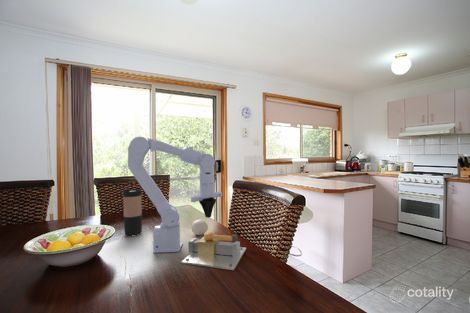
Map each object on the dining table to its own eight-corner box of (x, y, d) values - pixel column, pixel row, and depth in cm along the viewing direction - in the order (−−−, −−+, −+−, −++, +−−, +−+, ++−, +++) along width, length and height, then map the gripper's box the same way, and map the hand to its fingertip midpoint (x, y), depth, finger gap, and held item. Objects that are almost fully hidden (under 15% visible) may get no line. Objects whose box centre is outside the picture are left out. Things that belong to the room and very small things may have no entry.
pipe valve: (187, 253, 81) (187, 240, 81) (194, 247, 87) (194, 235, 87) (236, 258, 76) (236, 245, 76) (240, 251, 82) (240, 239, 82)
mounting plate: (181, 263, 75) (181, 260, 75) (201, 244, 90) (201, 242, 90) (233, 270, 70) (233, 267, 70) (246, 249, 85) (246, 246, 85)
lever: (202, 239, 81) (202, 234, 81) (206, 236, 84) (206, 231, 84) (236, 242, 77) (236, 237, 77) (238, 239, 80) (238, 234, 80)
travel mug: (120, 235, 103) (119, 191, 103) (133, 230, 110) (132, 188, 110) (133, 237, 100) (132, 192, 100) (145, 231, 107) (145, 189, 107)
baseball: (205, 237, 98) (205, 222, 98) (189, 237, 99) (189, 221, 99) (210, 232, 104) (209, 218, 104) (195, 231, 106) (194, 217, 106)
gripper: (198, 186, 84) (199, 223, 84) (226, 182, 94) (227, 214, 94) (187, 185, 89) (188, 219, 89) (215, 181, 99) (216, 212, 99)
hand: (208, 216), depth 92 cm, fingers closed
